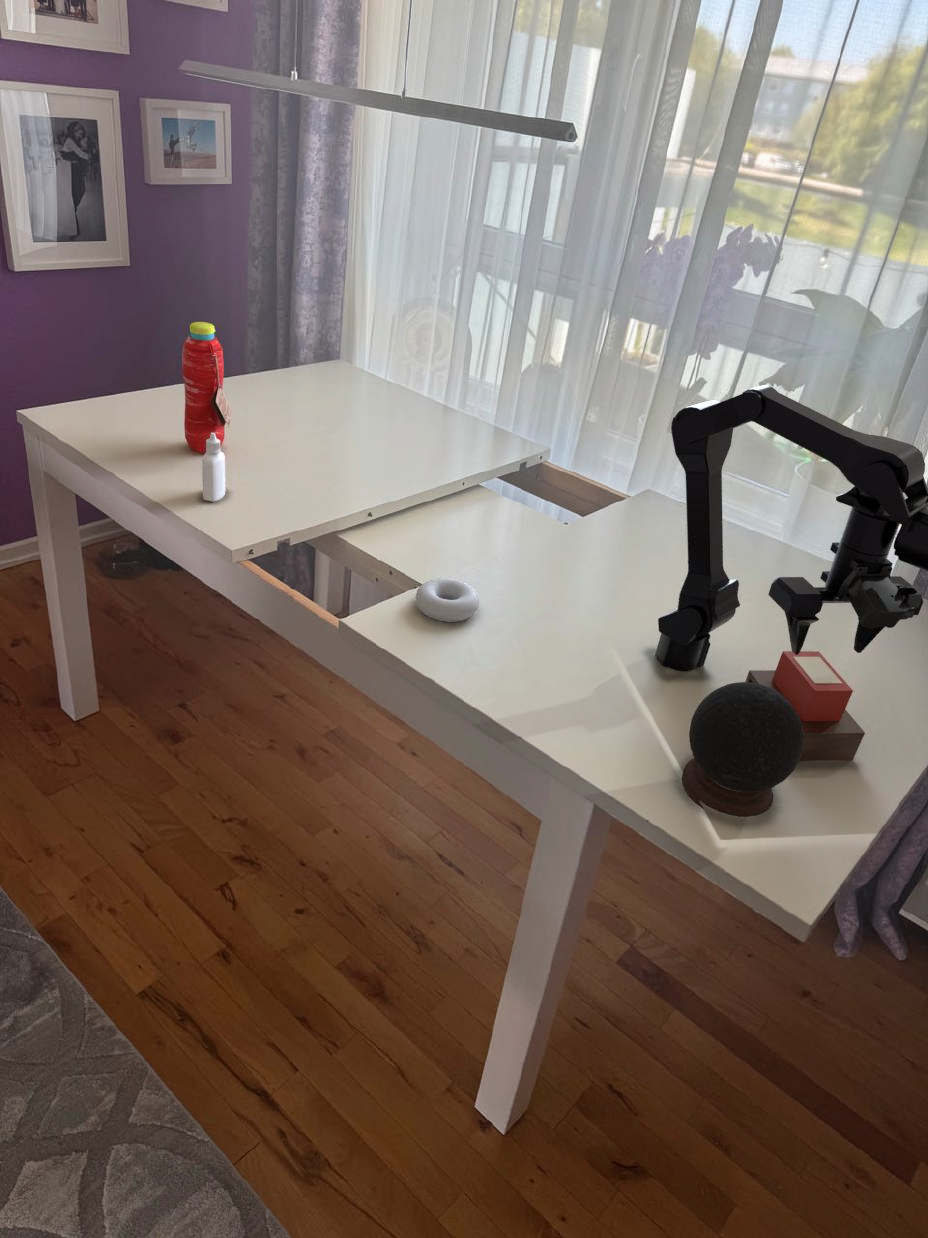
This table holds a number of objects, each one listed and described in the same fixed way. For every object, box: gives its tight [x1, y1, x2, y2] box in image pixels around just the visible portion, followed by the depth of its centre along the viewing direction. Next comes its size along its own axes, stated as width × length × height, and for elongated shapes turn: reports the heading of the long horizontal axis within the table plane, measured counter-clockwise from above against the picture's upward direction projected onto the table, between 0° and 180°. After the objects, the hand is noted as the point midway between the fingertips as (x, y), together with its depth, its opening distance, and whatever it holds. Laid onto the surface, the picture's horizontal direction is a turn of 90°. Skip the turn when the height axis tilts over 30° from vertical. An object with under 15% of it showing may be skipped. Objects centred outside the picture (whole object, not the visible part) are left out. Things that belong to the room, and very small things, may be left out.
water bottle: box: [181, 321, 233, 455], centre depth 176 cm, size 12×8×25 cm, turn 46°
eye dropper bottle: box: [201, 433, 226, 502], centre depth 162 cm, size 4×6×12 cm
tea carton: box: [772, 650, 854, 721], centre depth 122 cm, size 6×9×5 cm, turn 10°
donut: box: [414, 577, 480, 623], centre depth 141 cm, size 10×3×10 cm
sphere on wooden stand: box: [681, 681, 804, 818], centre depth 110 cm, size 13×13×15 cm
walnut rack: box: [744, 669, 866, 762], centre depth 124 cm, size 10×14×5 cm
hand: (826, 652), depth 119 cm, fingers open, 9 cm apart
